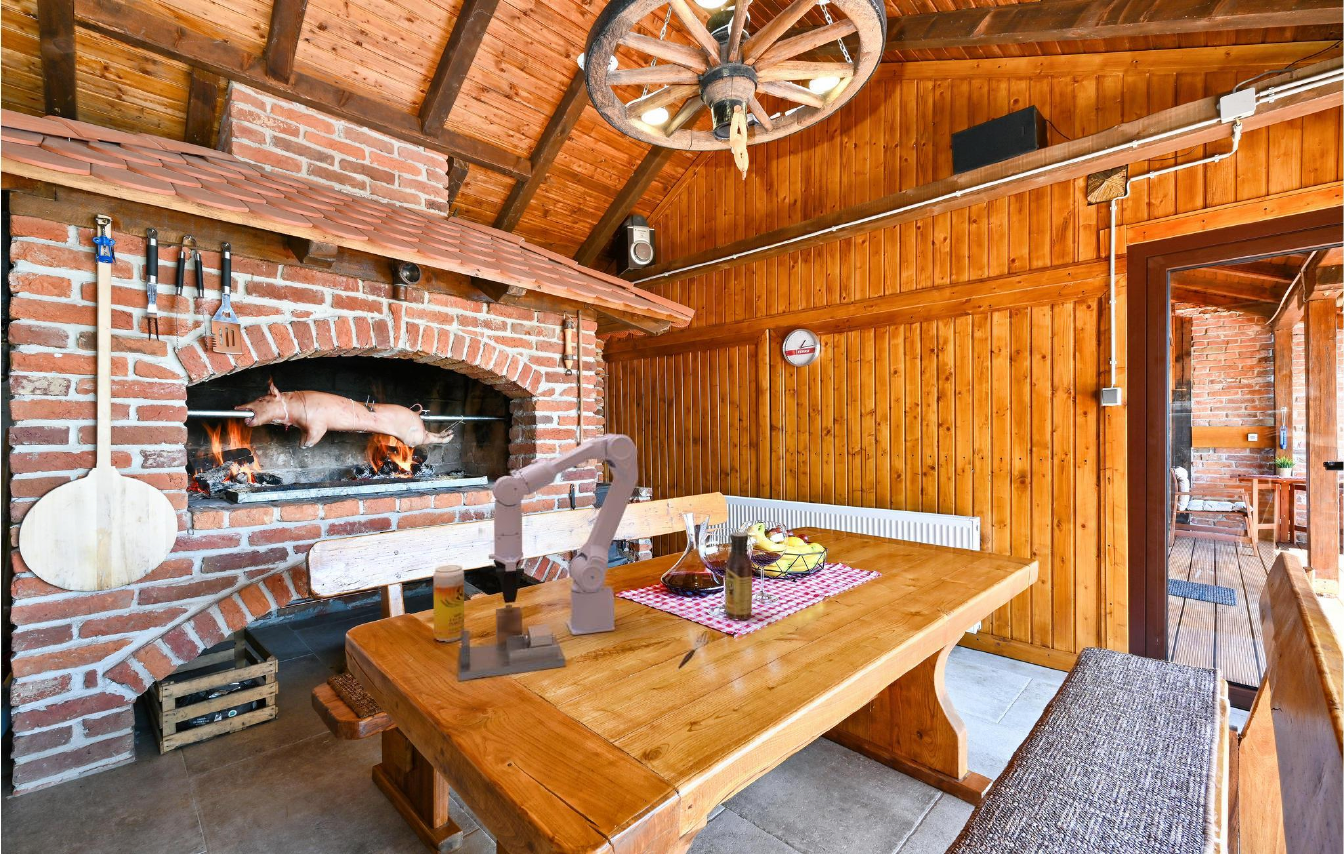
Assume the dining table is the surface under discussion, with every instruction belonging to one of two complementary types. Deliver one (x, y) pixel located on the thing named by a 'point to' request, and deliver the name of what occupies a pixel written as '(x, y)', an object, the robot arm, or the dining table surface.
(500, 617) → the block
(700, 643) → the fork
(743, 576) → the sauce bottle
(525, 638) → the ram
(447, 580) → the beer can
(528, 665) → the press frame
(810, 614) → the dining table surface
